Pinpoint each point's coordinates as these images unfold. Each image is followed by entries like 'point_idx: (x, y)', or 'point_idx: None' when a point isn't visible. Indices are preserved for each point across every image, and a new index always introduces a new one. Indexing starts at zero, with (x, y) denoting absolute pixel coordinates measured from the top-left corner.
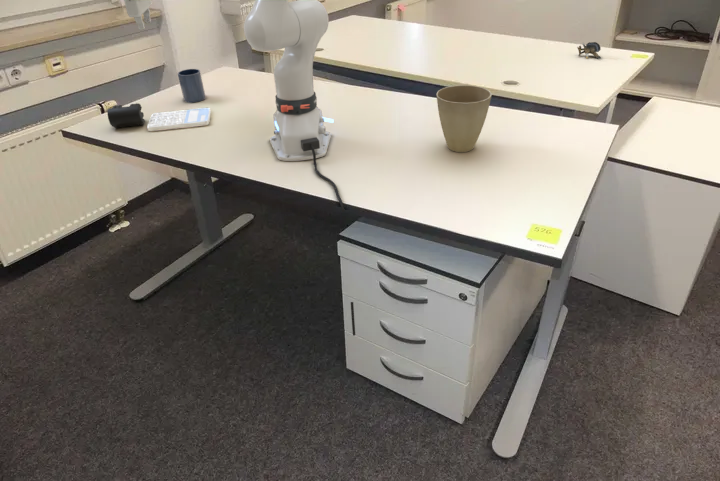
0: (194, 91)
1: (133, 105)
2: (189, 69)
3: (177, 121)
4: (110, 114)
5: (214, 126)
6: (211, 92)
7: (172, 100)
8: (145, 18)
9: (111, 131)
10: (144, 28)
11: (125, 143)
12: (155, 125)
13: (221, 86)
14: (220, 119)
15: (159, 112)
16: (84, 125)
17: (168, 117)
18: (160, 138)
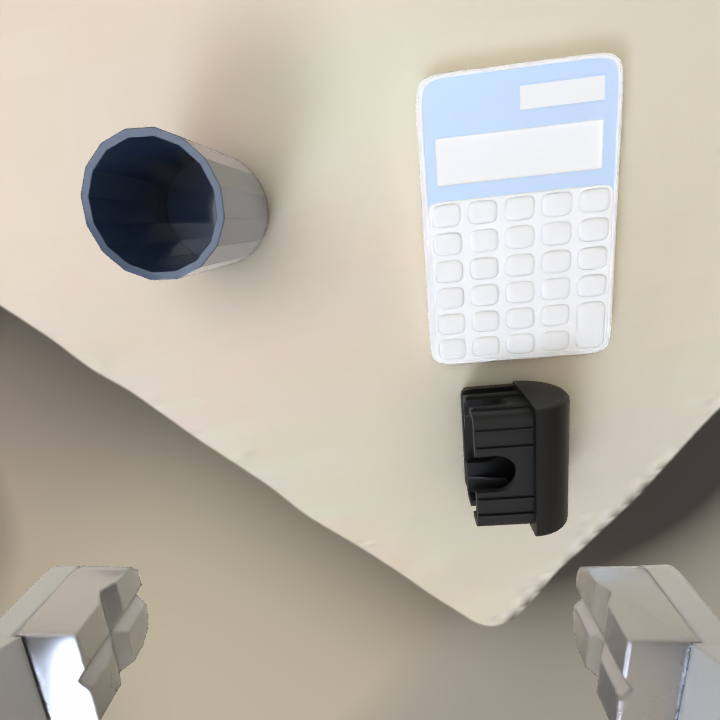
0: (249, 187)
1: (497, 441)
2: (92, 215)
3: (580, 221)
4: (565, 514)
5: (634, 24)
6: None
7: (225, 319)
8: (100, 681)
9: None
10: (648, 567)
11: (695, 407)
12: (603, 316)
13: (32, 92)
14: (542, 6)
15: (434, 334)
16: (453, 591)
17: (512, 277)
18: (695, 275)
